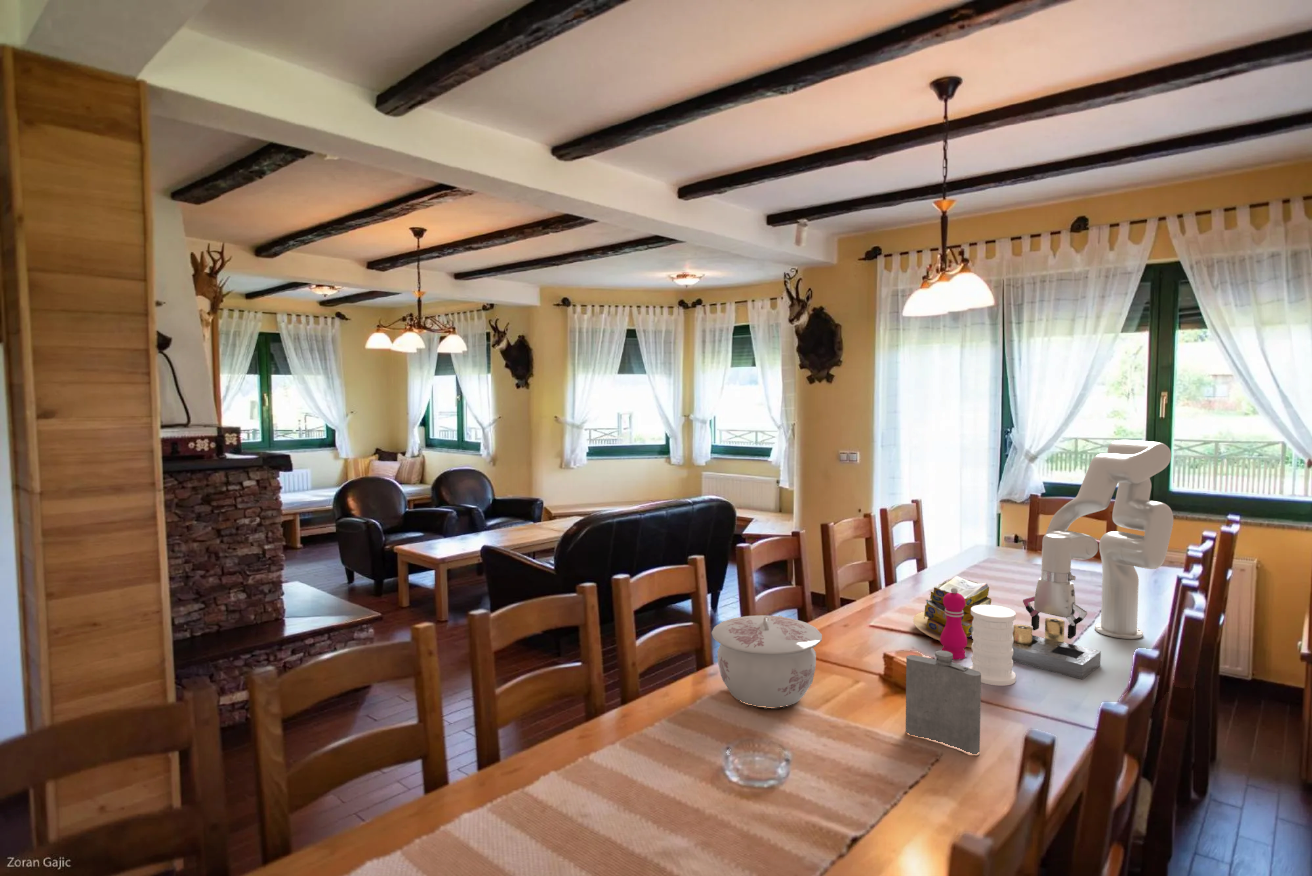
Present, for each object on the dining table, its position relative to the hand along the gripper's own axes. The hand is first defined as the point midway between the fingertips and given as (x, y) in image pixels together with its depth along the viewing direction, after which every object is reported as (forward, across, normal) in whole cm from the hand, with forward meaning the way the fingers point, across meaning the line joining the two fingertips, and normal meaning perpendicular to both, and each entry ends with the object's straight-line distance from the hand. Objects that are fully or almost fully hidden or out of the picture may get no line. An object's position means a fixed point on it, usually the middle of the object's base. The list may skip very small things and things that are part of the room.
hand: (1053, 633), depth 213 cm
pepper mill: (+5, +17, +27) cm, 32 cm away
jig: (+4, -2, +12) cm, 13 cm away
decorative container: (+5, +3, +34) cm, 35 cm away
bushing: (+4, 0, -1) cm, 4 cm away
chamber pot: (+7, +36, +87) cm, 95 cm away
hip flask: (+6, -5, +77) cm, 78 cm away
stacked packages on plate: (+5, +25, +9) cm, 27 cm away
